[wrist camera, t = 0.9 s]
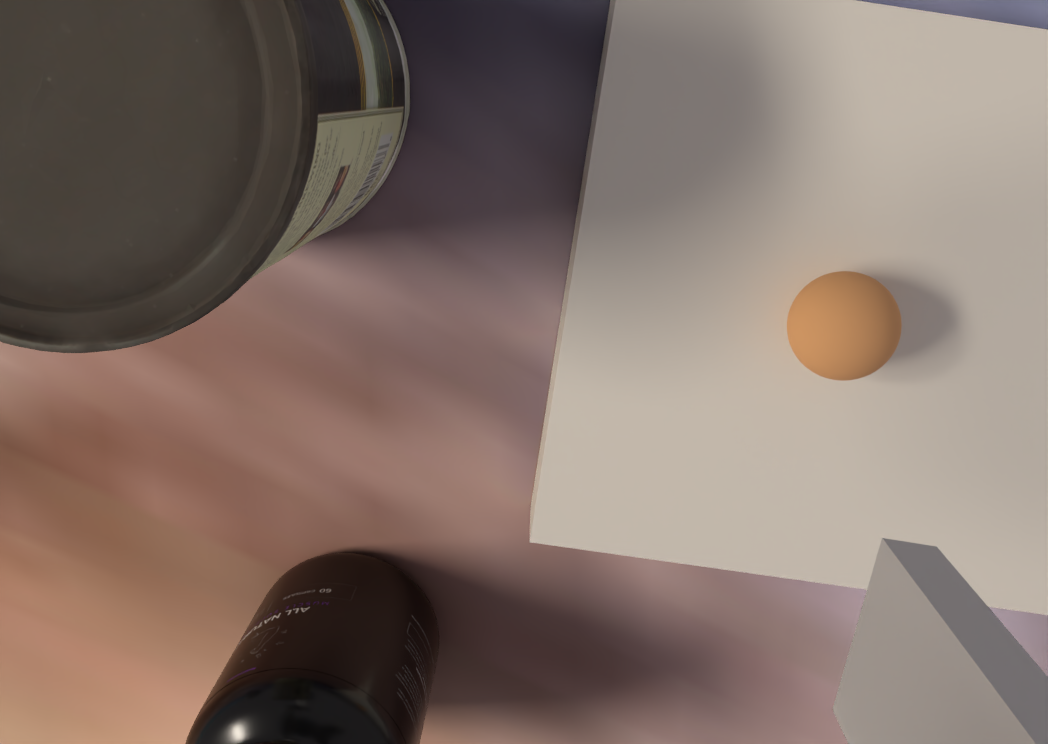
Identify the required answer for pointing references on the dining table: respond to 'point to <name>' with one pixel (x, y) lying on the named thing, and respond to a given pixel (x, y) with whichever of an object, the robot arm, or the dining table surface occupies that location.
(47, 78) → the coffee can
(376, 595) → the supplement bottle
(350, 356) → the dining table surface
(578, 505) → the hole board
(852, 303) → the ball
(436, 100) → the dining table surface
